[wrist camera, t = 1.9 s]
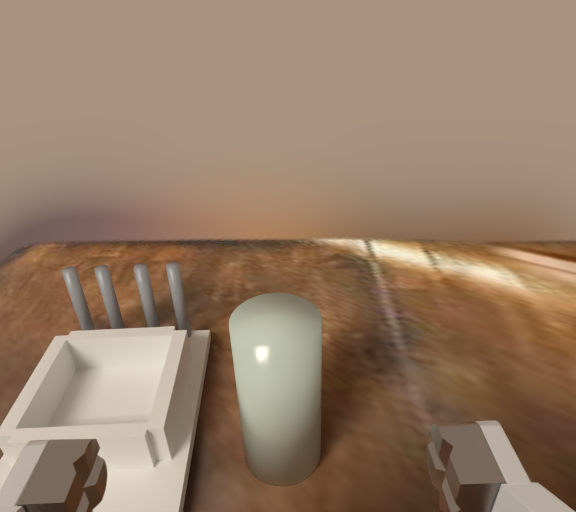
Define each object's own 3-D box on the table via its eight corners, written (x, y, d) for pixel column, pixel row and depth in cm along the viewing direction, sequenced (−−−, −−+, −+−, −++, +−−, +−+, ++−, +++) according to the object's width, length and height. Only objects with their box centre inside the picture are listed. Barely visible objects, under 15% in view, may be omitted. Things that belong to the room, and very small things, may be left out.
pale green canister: (317, 417, 32) (317, 291, 27) (324, 484, 28) (326, 349, 22) (246, 421, 32) (232, 294, 27) (243, 488, 28) (225, 354, 22)
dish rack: (211, 338, 40) (199, 260, 36) (180, 524, 26) (155, 432, 22) (73, 345, 40) (45, 267, 36) (-30, 535, 26) (-94, 445, 22)
